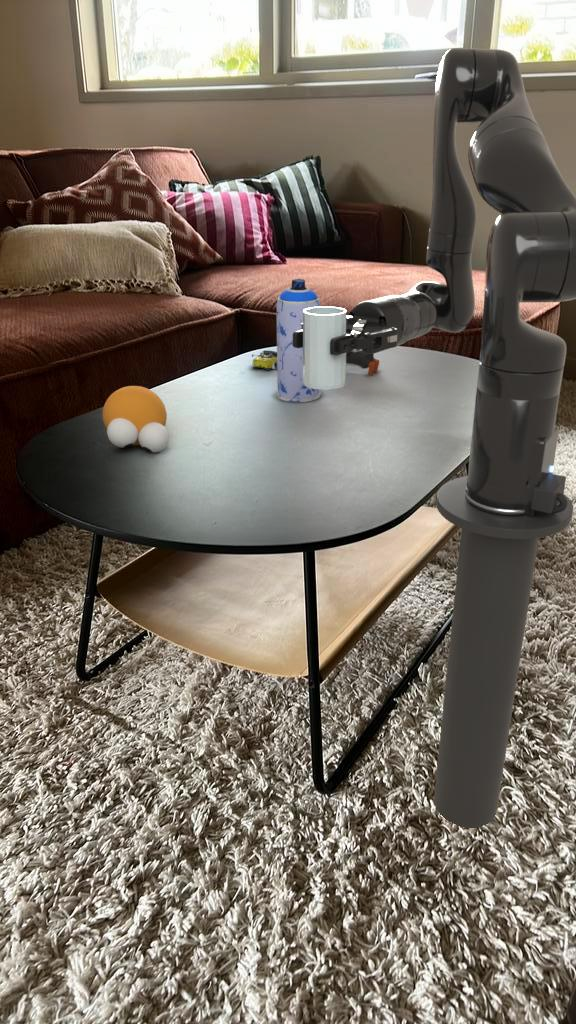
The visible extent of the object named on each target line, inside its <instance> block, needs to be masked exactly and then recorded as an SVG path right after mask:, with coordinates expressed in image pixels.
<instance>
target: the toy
mask: <svg viewBox="0 0 576 1024" xmlns="http://www.w3.org/2000/svg"><path fill="white" fill-rule="evenodd" d="M167 416H168V415H167V409H166V405H165V403H164V402H163V400H162V399H161V398H160V396H159V395H158V394H157V393H155V391H152V390H151V389H149V388H147V387H144V386H140V385H128V386H123V387H121V388H119V389H117V390H115V391H113V392H112V393H111V394H110V395H109V396H108V397H107V399H106V401H105V403H104V405H103V408H102V422H103V425H104V427H105V429H106V435H107V439H108V440H109V442H110V443H111V444H112V445H114V446H115V447H117V448H123V449H125V448H129V447H131V446H140V447H141V448H142V449H144V450H145V451H146V452H149V453H158V452H161V451H163V450H164V449H165V448H166V447H167V445H168V443H169V440H170V436H169V435H170V434H169V431H168V430H167V427H166V424H167V419H168V418H167Z"/></svg>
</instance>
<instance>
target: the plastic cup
mask: <svg viewBox="0 0 576 1024" xmlns="http://www.w3.org/2000/svg"><path fill="white" fill-rule="evenodd" d="M347 316H348V310H347V309H345V308H342V307H336V306H320V307H313V308H308V309H304V310H303V384H304V386H306V387H308V388H312V389H320V391H321V390H322V391H323V390H325V391H328V390H336V389H340V388H343V387H344V386H345V385H346V381H347V379H346V377H347V376H346V375H347V371H346V370H347V366H346V353H343V354H340V355H337V356H335V355H331V354H330V341H331V339H332V338H335V337H338V336H342V335H345V334H346V331H347Z"/></svg>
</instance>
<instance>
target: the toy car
mask: <svg viewBox="0 0 576 1024" xmlns="http://www.w3.org/2000/svg"><path fill="white" fill-rule="evenodd" d="M254 356H255V358H253V357H254ZM251 357H252V358H253V359H252V363H251V365H252V369H256V368H257V369H258V370H259V369H262V370H264V369H265V371H270V370H277V351H275V350H263V351H262V352H259V355H258V354H251Z"/></svg>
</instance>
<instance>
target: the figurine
mask: <svg viewBox="0 0 576 1024" xmlns="http://www.w3.org/2000/svg"><path fill="white" fill-rule="evenodd" d="M374 354H375V353H374ZM374 354H366V353H363V352H361V351H358V352H352V351H349V352H346V367H357V368H360V369H363V370H364V369H368V376H372V375H373V374H375V373H377V372H378V369H379V366H380V360H379V359H377V358H375V357H374Z"/></svg>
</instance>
